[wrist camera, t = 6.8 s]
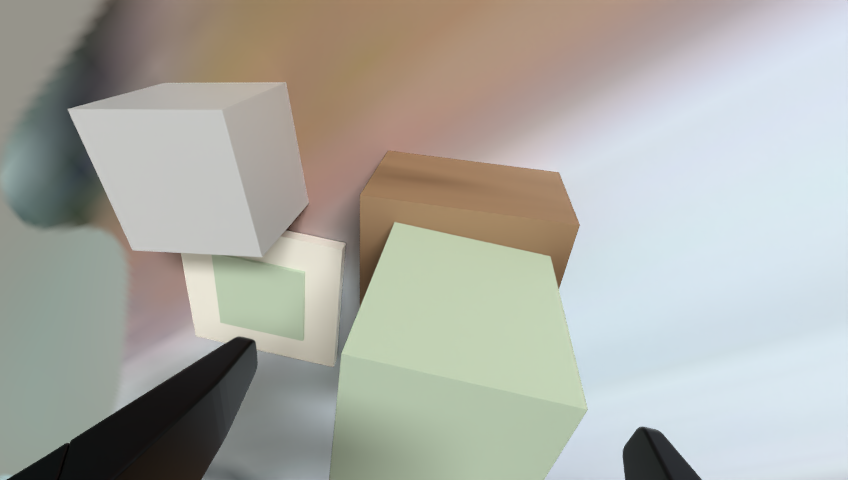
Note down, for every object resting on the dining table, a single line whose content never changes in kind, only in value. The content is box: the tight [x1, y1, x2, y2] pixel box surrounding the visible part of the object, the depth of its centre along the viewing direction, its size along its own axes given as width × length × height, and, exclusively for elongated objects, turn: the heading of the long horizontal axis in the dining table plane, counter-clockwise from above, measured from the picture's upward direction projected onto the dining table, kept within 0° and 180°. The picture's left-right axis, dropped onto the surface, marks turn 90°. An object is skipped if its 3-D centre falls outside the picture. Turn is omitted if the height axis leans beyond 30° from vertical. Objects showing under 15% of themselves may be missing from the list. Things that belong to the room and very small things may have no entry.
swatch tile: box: [181, 230, 346, 367], centre depth 18 cm, size 7×7×1 cm
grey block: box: [68, 82, 309, 257], centre depth 14 cm, size 4×4×4 cm
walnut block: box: [360, 151, 580, 306], centre depth 14 cm, size 6×6×4 cm
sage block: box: [329, 222, 588, 480], centre depth 11 cm, size 4×4×5 cm
